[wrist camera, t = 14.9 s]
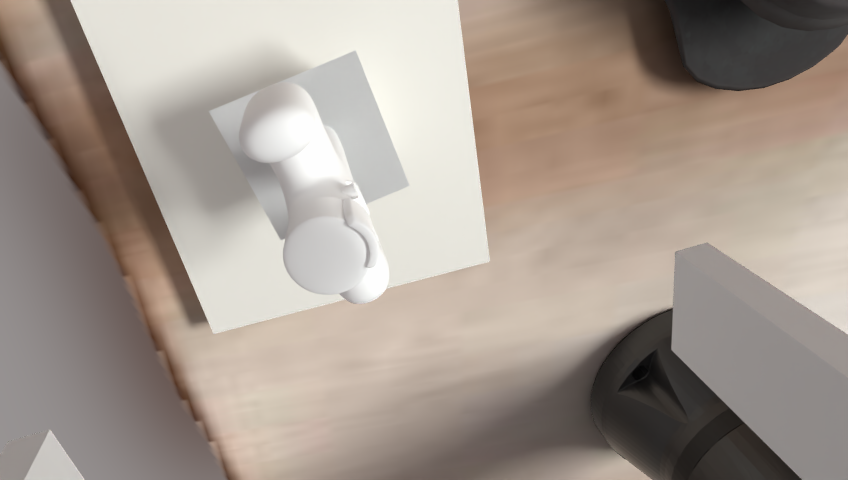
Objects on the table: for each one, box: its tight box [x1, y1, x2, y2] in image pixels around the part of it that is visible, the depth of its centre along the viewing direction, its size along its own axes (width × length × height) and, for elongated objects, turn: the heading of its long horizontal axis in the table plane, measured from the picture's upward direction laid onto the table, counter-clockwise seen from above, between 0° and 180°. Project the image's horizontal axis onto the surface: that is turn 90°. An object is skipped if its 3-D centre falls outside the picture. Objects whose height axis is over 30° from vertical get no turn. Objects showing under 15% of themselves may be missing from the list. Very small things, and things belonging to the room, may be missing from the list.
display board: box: [71, 0, 490, 334], centre depth 31 cm, size 22×18×2 cm
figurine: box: [209, 50, 410, 304], centre depth 24 cm, size 7×9×15 cm
